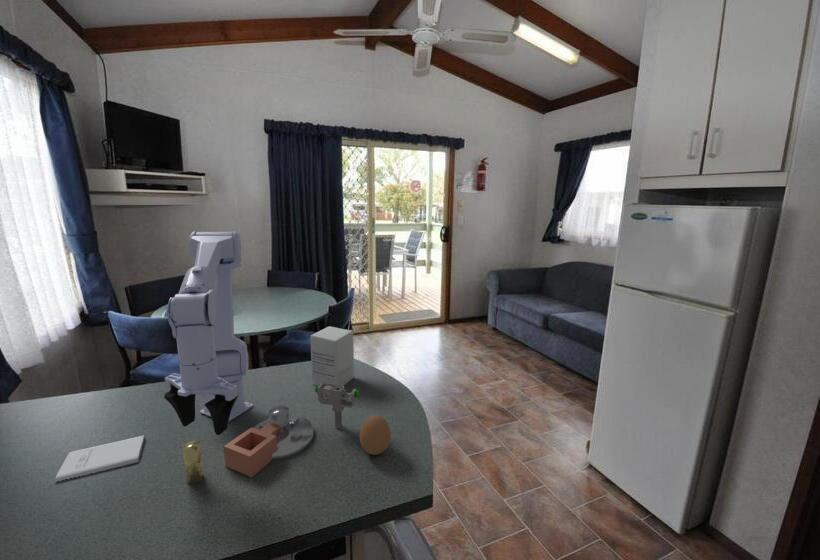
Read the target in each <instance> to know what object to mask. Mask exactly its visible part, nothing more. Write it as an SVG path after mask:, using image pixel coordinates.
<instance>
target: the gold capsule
mask: <svg viewBox="0 0 820 560" xmlns="http://www.w3.org/2000/svg"><path fill="white" fill-rule="evenodd" d="M181 450H182V456H183V464H184V466H183V467H184V472H185V482H186V483H187V484H196V483H198V482H200V481H202V479H203V478H204V469H203V468H204V467H203V461H202V460H203V457H202V450H201V441H199V440H189V441H187V442H186V443H184V444H183V445H182V449H181Z"/></svg>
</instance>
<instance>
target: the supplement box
mask: <svg viewBox="0 0 820 560" xmlns="http://www.w3.org/2000/svg"><path fill="white" fill-rule="evenodd" d="M309 336H310V337H309V338H310V360H311V361H310V362H311V384H312V385H314V386H317V385H319V386H320V385H321V384H322V383H329V384H337V385H343V386H344V387H345V385H347V384H348V383H349V382H351V381H352V380H353V379H354V377H355V366H354V363H355V362H354V361H355V360H354V359H355V358H354V357H355V356H354V354H355V353H354V351H355V350H354V330H353V329H352V330H351V329H347V328H346V329H345V328H339V327H335V326H326V327H325V328H323V329H320V330H319V331H317V332H315V333H313V334H311V335H309Z"/></svg>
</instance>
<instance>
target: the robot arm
mask: <svg viewBox="0 0 820 560" xmlns="http://www.w3.org/2000/svg"><path fill="white" fill-rule="evenodd" d="M190 233H191V234H190V235H189V238H188V247H189V248H188V249H189V253H190V255H191V257H192V258H193V260H194V266H193V267H190V268H189V269H188V270H187V271H186V273H184V277H183V280H182V283H181V285H180V287H179V288H180V289H179V291H178V293H176V294H175V295H174V297H173V296H172V297H170V298H169V300H168V303H167V320H168V324H169V326H170V328H171V333H172V337H173V338H174V339H176V346H177V354H178V363H179V372H180V373H175V372H174V373H171V374H170V375H167V376H166V377H164V382H165V383H164V384H165V388H167V389H168V388H169V391H167V392H166V393H164V394H163V397H164V400H166V401H167V402H168V403H169V404H170V405H171V406H172V408H173V409H174V411H175V413H176V415H177V418H179V421H180V423H181V425H182V427H187V426H189V425H191V424H192V423H193V422H195V421H196V395H201V401H202V402H201V403H202V409H201V410H199V413H200V414H202V415H206V416H208V417H211V420H212V424H213V429H214V430H213V431H214V433H215V435H218V436H220V435H221V434H223V433H224V432H225V431H227V430H228V426H229V422H230V421H232V420H233V419H235V418H237V417H239V415H242V414H244V413H245V412H247V411H248V410H249V409H251V408H252V407H254V404H253V403H251V402H247V401H245V388H244V387H245V386H244V376H246V375H247V373H248V372H249V353H248V345H247V343H246V342H245V341H244V340H242V339H239V338H238V337H237V336H235V327H234V322H235V321H234V299H233V297H234V296H233V273H234V270H235V269H237V268H239V267H241V265H242V264H241V263H242V243H241V242H242V241H241V236H240V234H239V232H237V231H236V230H235V231H234V230H233V231H197V230H196V231H195V230H194V231H192V232H190Z"/></svg>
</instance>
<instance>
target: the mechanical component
mask: <svg viewBox="0 0 820 560" xmlns="http://www.w3.org/2000/svg"><path fill="white" fill-rule="evenodd" d="M314 391H315V393H317V399H318V401H319V403H320V404H323V405H327V406H329V405H330V406H332V408H331V410H332V411H333V412H334V428H335V430H339V429H341V427H342V425H343V423H342V422H343V416H342V414H343V413H342V411H344V409H345V408H352V407H353V406H354V405H355V403H356V401H358V399H359V398H360V396H361V390H358V389H357V388H353V389H352V391H351V392H348V391H346V388H345V385H344V386H343V385H337V384H329V383H322V384H321V385H320V386H319V385H315V389H314Z"/></svg>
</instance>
